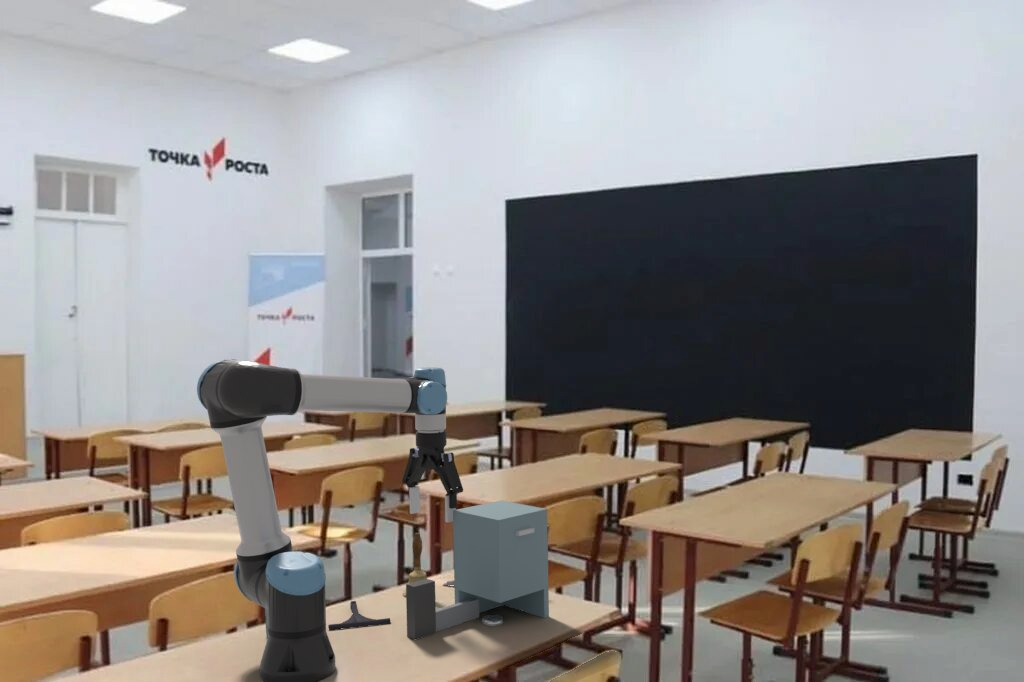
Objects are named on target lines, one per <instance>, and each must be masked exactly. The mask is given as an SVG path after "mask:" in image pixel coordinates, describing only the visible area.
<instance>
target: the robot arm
mask: <svg viewBox="0 0 1024 682" xmlns="http://www.w3.org/2000/svg"><path fill="white" fill-rule="evenodd" d="M196 394H197V395H196V396H197V398H198V401H199V402H200V404H201V406H203V408H204V409H205V410H207V414H208V420H209V424H210V425H209V426H210V428H211V430H212V431H213V432H216V433H217V434H218V435H219V437H220V441H221V446H222V450H223V456H224V461H225V466H226V471H227V476H228V481H229V486H230V491H231V495H232V496H231V497H232V502H233V506H234V512H235V516H236V521H237V526H238V530H239V531H238V532H239V536H240V540H241V541H240V544H239V545H238V546H237V548H236V549H235V554H236V560H237V562H236V564H235V567H234V580H235V581H234V582H235V584H236V587H237V589H238V590H239V591H240V594H242V595H243V596H244V597H245V598H246V599H247V600H249V601H251V602H253V603H255V604H256V605H258V606H260V607H262V608H263V609H264V610H265V609H267V613H268V637H267V639H266V643H265V645H264V650H263V653H262V657H261V660H260V663H259V677H260V678H261V680H262V681H264V682H319V681H321V680H323V679H326V678H327V677H329V676H331V675H332V674H333V673H334V672H335V671H336V655H335V652H334V649H333V647H332V644H331V641H330V638H329V635H328V633H327V615H326V613H327V609H326V608H327V605H326V604H327V603H326V600H327V599H326V579H327V578H326V577H327V576H326V571H325V564H324V562H323V560H322V559H321V557H319V556H318V555H316V554H315V553H314V554H313V553H311V552H303V551H299V550H297V551H294V550H293V546H292V545H293V544H292V541H291V537H290V535H288V534H286V533H284V532H283V531H282V527H281V521H280V517H279V516H280V515H279V512H278V506H277V500H276V496H275V495H276V494H275V491H274V486H273V480H272V475H271V469H270V464H269V460H268V455H267V449H266V443H265V439H264V438H265V437H264V434H263V428H262V427H263V426H262V425H263V424H264V422H265V421H266V419H267V418H268V417H271V416H295V415H296V414H298V412H299V411H309V412H310V411H311V412H312V411H313V412H315V411H316V412H319V411H320V412H348V413H349V412H351V413H352V412H353V413H391V414H394V413H395V414H397V413H399V414H414V415H415V417H414V421H415V422H414V423H415V425H414V427H415V428H414V429H415V430H417V431H416V432H415V447H412V448H409V455H408V456H409V457H408V460H407V463H406V467H405V470H404V473H403V476H402V479H401V482H402V484H406V486H407V488H408V491H407V492H408V500H409V514H410V515H414V514H417V513H420V512H421V497H420V496H421V495H420V494H421V492H420V491H421V489H420V486H419V485H420V483H419V482H420V481H421V479H422V477H423V475H424V473H425V472H426V470H427V469H429V470H433V472H435V473H436V474H437V476H438V477H439V480H440V482H441V484H442V486H443V487H444V490H445V492H446V494H445V495H444V510H445V511H444V517H445V519H444V520H445V523H451V522H452V523H453V510H457V509H456V508H457V507H458V501H457V500H458V497H457V496H458V494H461V493H463V492H464V488H463V485H462V481H461V478H460V476H459V471H458V469H457V465H456V463H455V456H454V455H455V454H454V452H447V453H446V452H445V450H444V448H445V447H446V446H447V440H448V439H447V432H446V428H447V413H446V412H447V403H448V392H447V383H446V371H445V370H444V369H443V368H441V367H437V366H435V367H430V366H427V367H417V368H416V369H415V370H414V374H413V376H410V377H393V378H391V377H390V378H386V377H384V378H383V377H367V376H365V377H364V376H351V375H350V376H348V375H328V374H311V373H310V374H308V373H301V371H300V370H299V369H297V368H292V367H291V368H290V367H289V368H288V367H282V366H281V367H280V366H274V365H270V364H266V363H261V362H259V361H258V362H257V361H252V360H238V359H235V358H230V359H223V360H218V361H216V362H213V363H211V364H210V365H208V366H207V367H206V368H205V369H204V370H203V371H202V372H201V374H200V377H199V378H198V380H197V384H196Z"/></svg>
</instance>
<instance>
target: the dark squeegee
mask: <svg viewBox="0 0 1024 682" xmlns="http://www.w3.org/2000/svg"><path fill="white" fill-rule="evenodd" d="M349 605H350V611H351V616H350V617H349V618H348V619H346V620H345V621H342V622H341V623H333V624H328V626H327V627H328V631H335V629H338V630H342V629H341V628H347V629H351V628H350V627H355V628H360V627H359V626H364V627H369V626H368V625H373V626H381V625H391V622H392V621H391V618H390V617H387V618H379V619H375V618H370V617H366V616H364V615H362V614H361V613H359V609H358V604H357V601H356V600H354V601H353V600H352V601H350V604H349ZM352 613H353V614H352ZM379 624H381V625H379Z"/></svg>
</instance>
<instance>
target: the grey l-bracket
mask: <svg viewBox="0 0 1024 682" xmlns="http://www.w3.org/2000/svg"><path fill="white" fill-rule="evenodd" d="M405 589H406V597H405V599H406V602H405V603H406V637H407V638H409V639H412V640H414V639H417V640H419V639H418V638H420V639H422V638H421V637H423V638H425V636H426V637H428V635H429V636H432V635H435V634H437V632H440V631H443V630H446V629H448V628H449V629H450V628H452V627H455V626H458V625H461V623H462V624H464V623H463V622H465V623H467V622H466V621H468V622H470V621H469V620H471V621H474V620H476V618H477V619H480V613H479V599H477V598H473V599H469V600H466V601H463V602H460V603H456V604H455V603H454V604H450V605H446V606H444V607H440V608H437V607H436V581H435V580H432V579H429V578H427V579H424V580H420V581H416V582H413V583H409V584H408V583H406V584H405ZM473 619H474V620H473ZM457 624H458V625H457ZM454 625H455V626H454ZM436 631H437V632H436ZM434 633H435V634H434Z"/></svg>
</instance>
